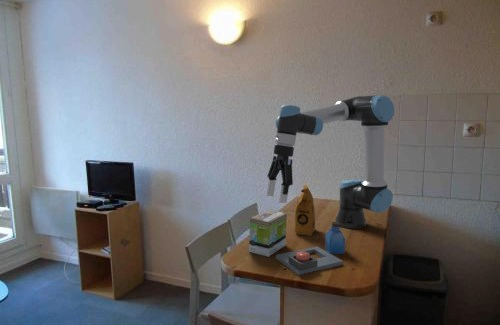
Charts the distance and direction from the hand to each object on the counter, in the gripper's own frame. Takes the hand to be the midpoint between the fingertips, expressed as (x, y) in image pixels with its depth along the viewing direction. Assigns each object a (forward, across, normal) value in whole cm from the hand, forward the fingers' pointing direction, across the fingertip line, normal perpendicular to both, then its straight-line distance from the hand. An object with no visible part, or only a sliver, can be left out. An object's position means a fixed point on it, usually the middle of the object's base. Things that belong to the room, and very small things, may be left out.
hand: (276, 199), depth 136 cm
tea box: (+23, -10, +4) cm, 25 cm away
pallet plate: (+22, +7, +15) cm, 27 cm away
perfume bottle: (+19, 0, +30) cm, 35 cm away
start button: (+19, +12, +9) cm, 25 cm away
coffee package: (+18, -24, +28) cm, 41 cm away
